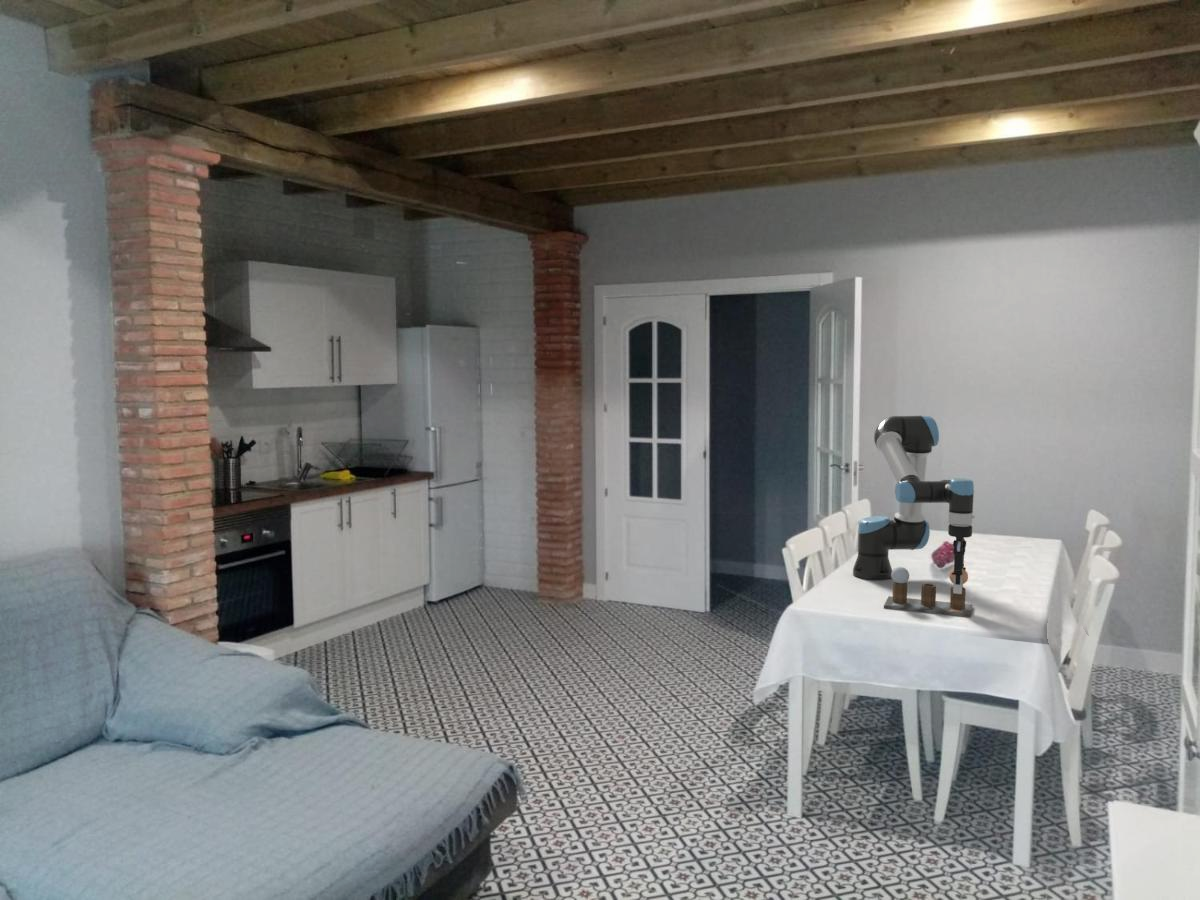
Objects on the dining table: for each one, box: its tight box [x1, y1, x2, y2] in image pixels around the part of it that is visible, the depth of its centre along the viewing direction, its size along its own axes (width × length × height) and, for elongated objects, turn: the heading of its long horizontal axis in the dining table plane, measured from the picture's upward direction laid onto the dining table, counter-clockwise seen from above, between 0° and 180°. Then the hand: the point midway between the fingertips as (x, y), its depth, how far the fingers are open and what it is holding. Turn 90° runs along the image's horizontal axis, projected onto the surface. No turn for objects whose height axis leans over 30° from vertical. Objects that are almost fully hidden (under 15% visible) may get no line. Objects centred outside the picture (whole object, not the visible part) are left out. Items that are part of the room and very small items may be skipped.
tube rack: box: [883, 581, 973, 618], centre depth 318 cm, size 28×13×8 cm, turn 65°
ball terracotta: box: [948, 568, 969, 586], centre depth 313 cm, size 6×6×6 cm
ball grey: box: [891, 566, 910, 584], centre depth 321 cm, size 6×6×6 cm
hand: (958, 590), depth 313 cm, fingers closed on ball terracotta, 6 cm apart
